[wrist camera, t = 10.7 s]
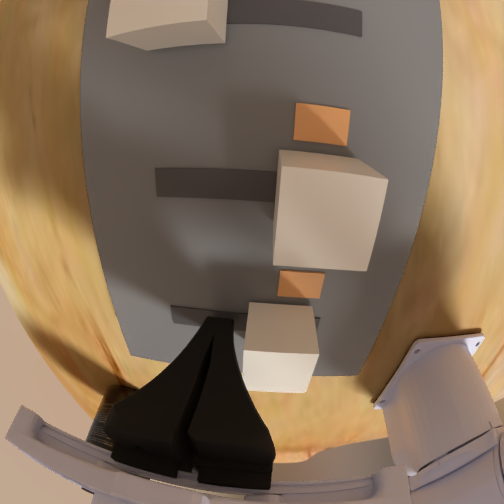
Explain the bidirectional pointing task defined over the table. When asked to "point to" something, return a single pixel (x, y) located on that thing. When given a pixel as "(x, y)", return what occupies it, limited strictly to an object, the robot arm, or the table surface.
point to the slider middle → (326, 211)
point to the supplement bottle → (96, 430)
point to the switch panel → (255, 163)
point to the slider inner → (279, 348)
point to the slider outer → (167, 22)
